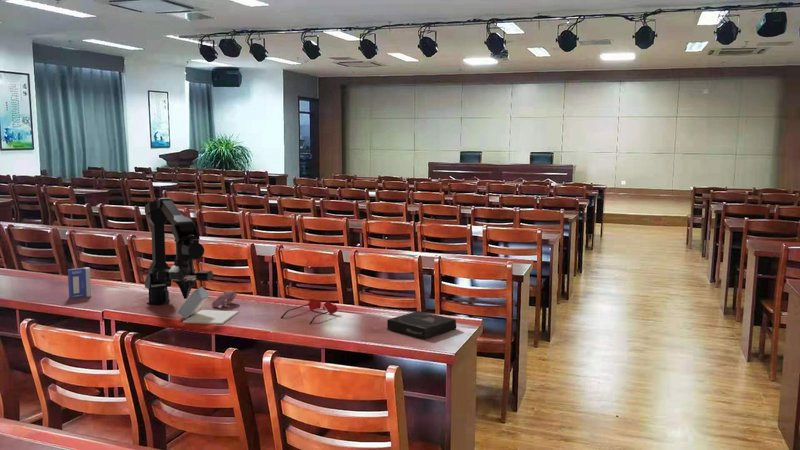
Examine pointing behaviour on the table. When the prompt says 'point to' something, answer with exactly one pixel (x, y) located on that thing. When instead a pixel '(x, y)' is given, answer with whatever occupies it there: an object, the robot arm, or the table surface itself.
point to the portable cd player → (421, 325)
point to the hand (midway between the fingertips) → (185, 298)
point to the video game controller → (224, 298)
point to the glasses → (317, 304)
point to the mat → (211, 317)
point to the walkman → (79, 282)
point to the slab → (193, 303)
